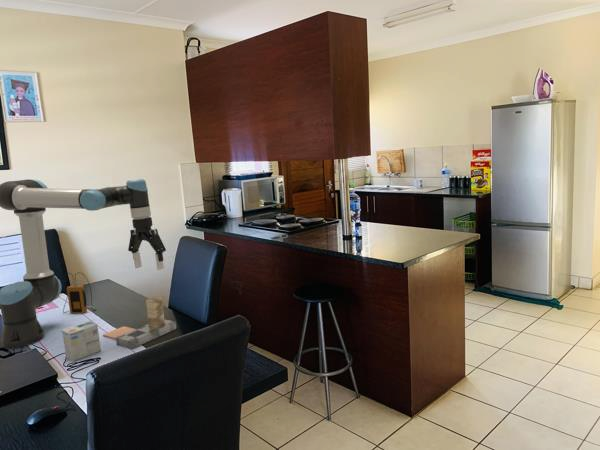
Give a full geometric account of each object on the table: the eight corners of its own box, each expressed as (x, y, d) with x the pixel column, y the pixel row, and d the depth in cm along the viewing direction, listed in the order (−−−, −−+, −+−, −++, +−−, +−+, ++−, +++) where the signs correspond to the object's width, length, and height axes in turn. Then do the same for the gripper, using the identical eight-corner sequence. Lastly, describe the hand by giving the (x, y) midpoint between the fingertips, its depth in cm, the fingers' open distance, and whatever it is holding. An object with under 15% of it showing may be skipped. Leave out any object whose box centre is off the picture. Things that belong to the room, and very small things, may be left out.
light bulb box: (93, 346, 176) (89, 320, 174) (101, 350, 171) (98, 323, 170) (64, 357, 168) (60, 329, 166) (73, 361, 163) (69, 333, 162)
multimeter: (102, 306, 225) (97, 267, 222) (91, 313, 215) (86, 272, 212) (74, 306, 227) (69, 268, 223) (62, 314, 217) (56, 273, 214)
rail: (131, 349, 171) (130, 341, 171) (116, 344, 176) (115, 337, 176) (176, 328, 189) (175, 321, 189) (161, 325, 194) (161, 318, 194)
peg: (156, 335, 184) (153, 301, 182) (149, 333, 186) (145, 300, 184) (165, 331, 187) (162, 298, 185) (158, 329, 190) (154, 297, 188)
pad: (118, 340, 180) (117, 338, 180) (102, 336, 186) (102, 334, 186) (139, 331, 189) (138, 330, 189) (123, 327, 194) (123, 326, 194)
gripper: (170, 215, 181) (177, 267, 184) (129, 216, 194) (137, 264, 197) (155, 218, 175) (163, 272, 178) (114, 219, 188) (122, 269, 191)
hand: (149, 268), depth 188 cm, fingers open, 13 cm apart
